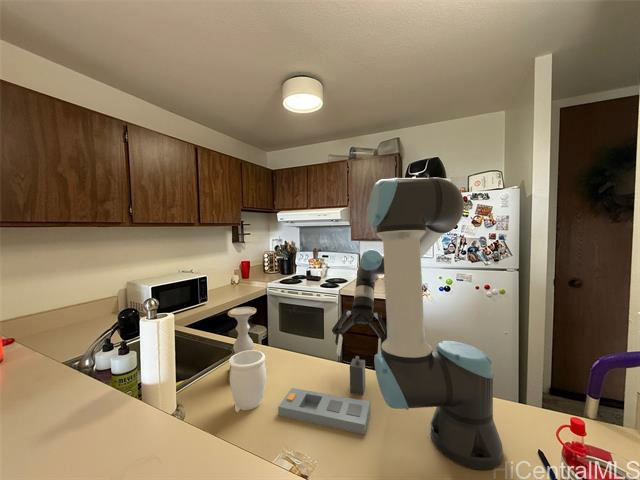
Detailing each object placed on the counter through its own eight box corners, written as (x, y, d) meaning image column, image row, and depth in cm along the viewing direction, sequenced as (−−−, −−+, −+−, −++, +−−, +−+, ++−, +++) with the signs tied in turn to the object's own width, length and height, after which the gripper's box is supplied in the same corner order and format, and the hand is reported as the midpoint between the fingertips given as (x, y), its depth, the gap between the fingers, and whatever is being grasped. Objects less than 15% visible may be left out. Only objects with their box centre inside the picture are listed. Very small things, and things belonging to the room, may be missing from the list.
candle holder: (259, 364, 103) (257, 305, 102) (260, 379, 92) (257, 313, 91) (230, 368, 100) (227, 307, 99) (227, 384, 89) (225, 316, 89)
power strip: (370, 415, 72) (369, 399, 72) (365, 440, 64) (365, 422, 64) (292, 400, 80) (291, 386, 80) (278, 420, 71) (278, 404, 71)
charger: (365, 390, 84) (364, 354, 84) (363, 399, 79) (362, 361, 79) (353, 388, 85) (352, 352, 85) (350, 397, 81) (349, 359, 80)
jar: (223, 413, 75) (221, 363, 74) (245, 392, 85) (243, 347, 84) (254, 422, 71) (252, 368, 71) (273, 399, 81) (272, 352, 80)
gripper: (397, 307, 98) (397, 365, 84) (334, 303, 106) (324, 356, 92) (397, 296, 93) (397, 357, 79) (330, 293, 100) (319, 348, 87)
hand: (358, 357), depth 85 cm, fingers open, 13 cm apart
